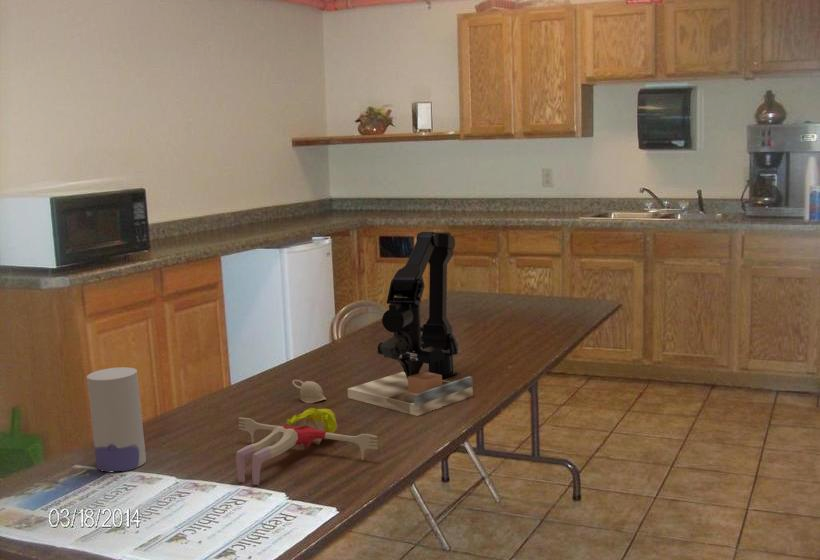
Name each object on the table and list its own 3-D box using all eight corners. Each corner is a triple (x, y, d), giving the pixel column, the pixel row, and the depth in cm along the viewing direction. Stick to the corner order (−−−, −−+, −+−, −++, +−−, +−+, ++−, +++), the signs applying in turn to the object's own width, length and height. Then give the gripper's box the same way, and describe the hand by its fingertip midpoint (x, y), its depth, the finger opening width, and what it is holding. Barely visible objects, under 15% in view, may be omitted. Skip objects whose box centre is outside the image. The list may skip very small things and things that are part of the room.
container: (151, 454, 193) (142, 365, 190) (139, 471, 183) (129, 377, 180) (105, 457, 193) (95, 367, 190) (90, 474, 183) (79, 380, 180)
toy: (378, 462, 182) (376, 421, 181) (242, 489, 171) (238, 445, 170) (335, 424, 208) (332, 387, 207) (213, 445, 197) (210, 406, 196)
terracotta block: (425, 386, 226) (424, 371, 226) (442, 390, 222) (441, 375, 221) (408, 392, 222) (407, 376, 221) (425, 396, 218) (425, 380, 217)
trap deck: (403, 380, 242) (402, 362, 241) (472, 396, 225) (472, 376, 224) (348, 398, 228) (346, 379, 228) (417, 415, 211) (416, 395, 210)
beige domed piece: (319, 404, 224) (317, 384, 223) (291, 401, 228) (290, 381, 227) (327, 400, 228) (326, 379, 227) (300, 397, 232) (299, 377, 231)
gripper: (360, 325, 224) (363, 385, 226) (412, 334, 211) (415, 398, 213) (392, 317, 231) (395, 375, 234) (444, 326, 218) (447, 387, 221)
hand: (411, 384), depth 225 cm, fingers closed
